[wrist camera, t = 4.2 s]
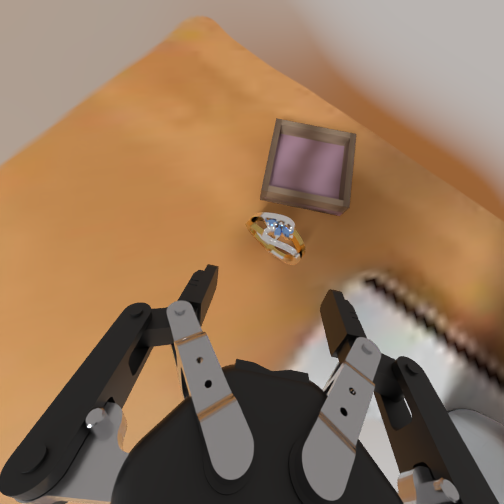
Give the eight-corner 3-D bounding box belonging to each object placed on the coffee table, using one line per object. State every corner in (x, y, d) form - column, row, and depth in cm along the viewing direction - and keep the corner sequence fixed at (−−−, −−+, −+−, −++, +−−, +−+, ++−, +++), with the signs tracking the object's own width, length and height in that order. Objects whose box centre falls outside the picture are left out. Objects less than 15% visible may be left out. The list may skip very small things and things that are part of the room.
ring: (241, 239, 25) (239, 213, 17) (258, 222, 25) (263, 190, 18) (281, 276, 24) (298, 268, 16) (297, 258, 25) (322, 241, 17)
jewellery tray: (346, 147, 29) (356, 134, 26) (339, 215, 26) (349, 207, 24) (273, 133, 29) (276, 118, 26) (259, 199, 26) (261, 189, 24)
